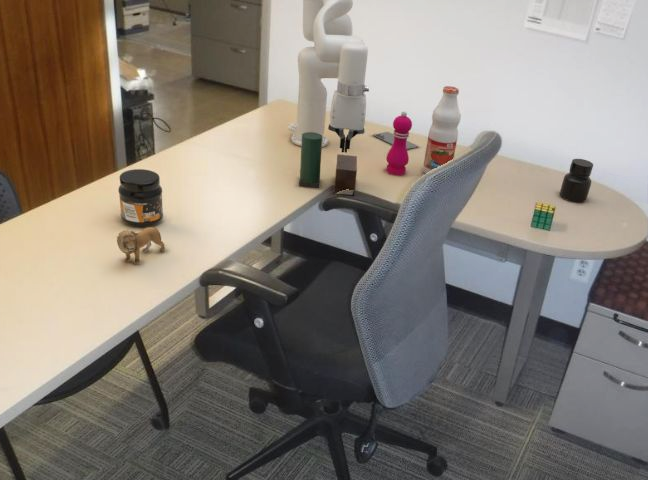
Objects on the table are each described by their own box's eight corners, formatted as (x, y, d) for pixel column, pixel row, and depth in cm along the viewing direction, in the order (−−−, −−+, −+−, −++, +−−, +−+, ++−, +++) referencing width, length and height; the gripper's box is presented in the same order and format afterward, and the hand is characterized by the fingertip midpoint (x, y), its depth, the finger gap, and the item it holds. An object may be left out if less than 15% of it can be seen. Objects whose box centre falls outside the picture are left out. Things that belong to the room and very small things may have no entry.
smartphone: (403, 149, 252) (372, 134, 261) (403, 151, 252) (372, 135, 261) (418, 146, 257) (387, 131, 266) (418, 147, 257) (387, 132, 266)
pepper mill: (407, 169, 238) (416, 109, 227) (405, 177, 232) (415, 116, 221) (385, 166, 238) (393, 106, 227) (383, 174, 232) (392, 113, 221)
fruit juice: (442, 166, 244) (457, 83, 229) (455, 177, 237) (471, 92, 221) (417, 168, 240) (431, 83, 225) (430, 179, 233) (444, 92, 218)
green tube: (303, 194, 217) (278, 148, 209) (304, 187, 222) (280, 141, 214) (341, 178, 214) (317, 131, 206) (341, 170, 219) (318, 124, 211)
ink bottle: (589, 197, 237) (600, 162, 230) (584, 205, 230) (595, 170, 223) (561, 189, 240) (570, 154, 233) (555, 197, 233) (564, 162, 226)
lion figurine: (132, 273, 163) (129, 238, 158) (112, 266, 165) (109, 231, 160) (170, 248, 175) (169, 214, 170) (152, 242, 176) (150, 208, 172)
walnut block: (333, 194, 214) (336, 168, 210) (335, 178, 224) (337, 154, 220) (353, 196, 214) (356, 170, 210) (354, 180, 224) (356, 156, 220)
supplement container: (125, 231, 180) (122, 186, 173) (117, 212, 187) (113, 169, 180) (168, 226, 184) (166, 183, 178) (158, 209, 192) (156, 166, 185)
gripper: (376, 88, 207) (369, 149, 217) (324, 82, 205) (319, 143, 215) (377, 95, 200) (369, 158, 210) (323, 89, 199) (318, 152, 209)
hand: (344, 150), depth 213 cm, fingers closed
